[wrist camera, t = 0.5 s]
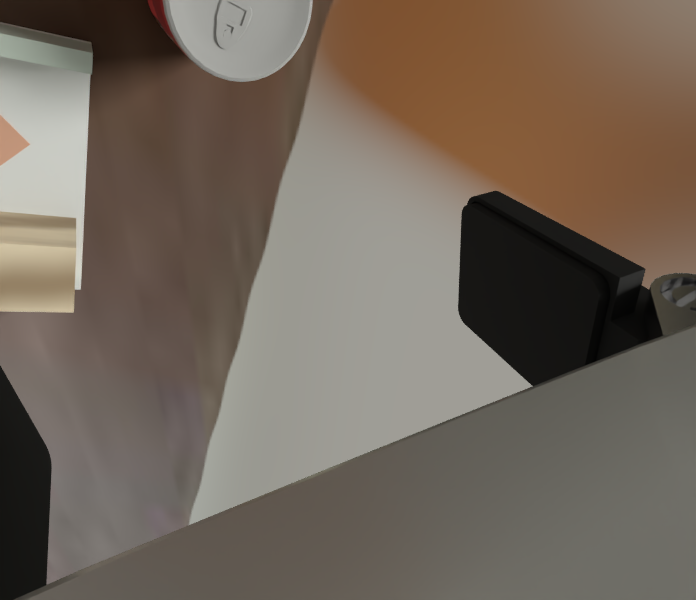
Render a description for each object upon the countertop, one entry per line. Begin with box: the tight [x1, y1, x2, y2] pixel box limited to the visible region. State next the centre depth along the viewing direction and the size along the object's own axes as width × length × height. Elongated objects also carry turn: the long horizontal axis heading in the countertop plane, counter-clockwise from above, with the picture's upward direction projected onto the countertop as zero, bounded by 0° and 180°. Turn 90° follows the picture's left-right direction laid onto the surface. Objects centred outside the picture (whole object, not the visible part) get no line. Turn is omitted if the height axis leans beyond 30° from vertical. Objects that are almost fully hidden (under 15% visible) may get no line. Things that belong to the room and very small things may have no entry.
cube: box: [0, 211, 76, 312], centre depth 38 cm, size 5×5×5 cm
